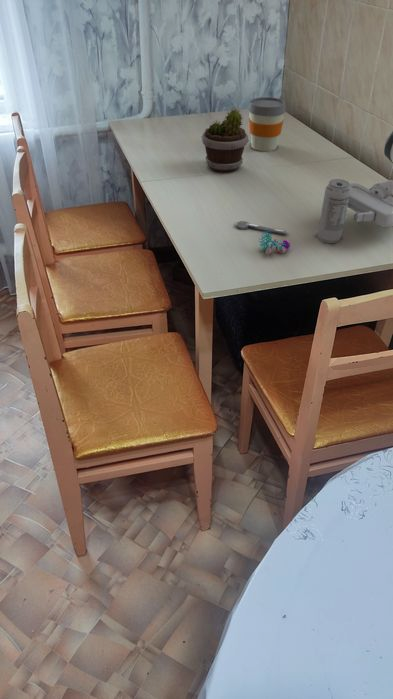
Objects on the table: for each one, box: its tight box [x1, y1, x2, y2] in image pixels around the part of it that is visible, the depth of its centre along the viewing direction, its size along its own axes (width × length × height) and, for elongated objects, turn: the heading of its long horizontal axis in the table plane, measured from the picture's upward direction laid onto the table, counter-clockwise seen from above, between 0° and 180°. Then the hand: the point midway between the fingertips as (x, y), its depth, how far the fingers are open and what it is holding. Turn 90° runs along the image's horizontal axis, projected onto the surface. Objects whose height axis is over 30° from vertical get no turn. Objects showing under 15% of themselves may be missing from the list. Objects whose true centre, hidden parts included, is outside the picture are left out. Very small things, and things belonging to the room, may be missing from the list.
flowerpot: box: [201, 104, 250, 173], centre depth 172 cm, size 14×15×20 cm
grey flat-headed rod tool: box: [235, 220, 287, 236], centre depth 144 cm, size 14×4×1 cm, turn 66°
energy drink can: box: [317, 178, 350, 244], centre depth 136 cm, size 6×6×15 cm
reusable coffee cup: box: [248, 96, 286, 152], centre depth 189 cm, size 13×13×15 cm
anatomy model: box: [258, 231, 291, 256], centre depth 134 cm, size 5×8×7 cm
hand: (343, 210), depth 137 cm, fingers open, 8 cm apart
